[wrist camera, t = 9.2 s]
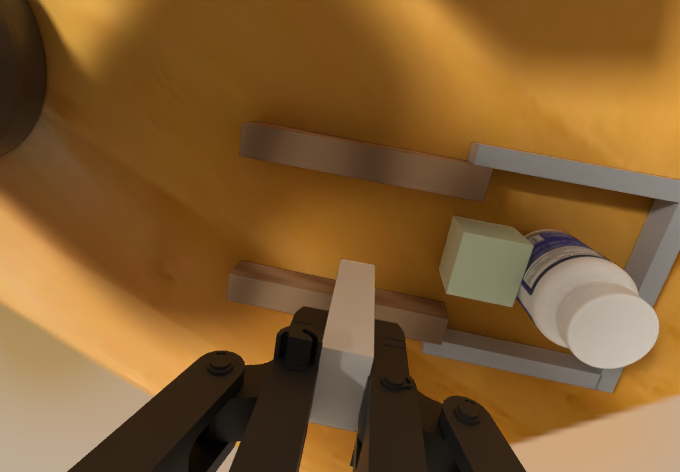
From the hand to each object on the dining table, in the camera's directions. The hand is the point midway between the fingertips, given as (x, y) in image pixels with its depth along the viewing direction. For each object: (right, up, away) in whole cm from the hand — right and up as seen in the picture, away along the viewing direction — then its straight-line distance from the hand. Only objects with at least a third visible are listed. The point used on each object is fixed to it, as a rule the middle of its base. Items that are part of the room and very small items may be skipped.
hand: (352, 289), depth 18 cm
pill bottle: (+13, 0, +10) cm, 16 cm away
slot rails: (0, +3, +10) cm, 10 cm away
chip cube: (+9, +1, +10) cm, 13 cm away
